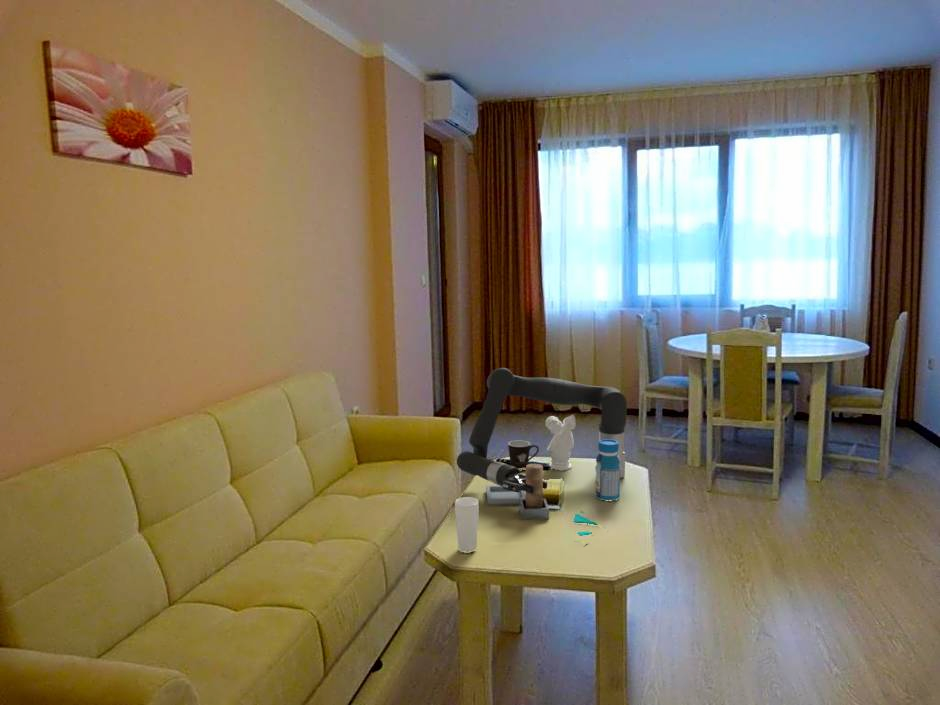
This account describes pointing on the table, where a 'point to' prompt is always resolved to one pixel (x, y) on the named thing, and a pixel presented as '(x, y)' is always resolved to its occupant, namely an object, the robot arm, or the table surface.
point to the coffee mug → (520, 453)
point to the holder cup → (533, 511)
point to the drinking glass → (467, 522)
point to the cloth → (582, 519)
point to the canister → (534, 485)
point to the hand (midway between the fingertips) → (539, 488)
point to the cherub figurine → (561, 441)
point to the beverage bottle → (608, 470)
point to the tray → (503, 496)
